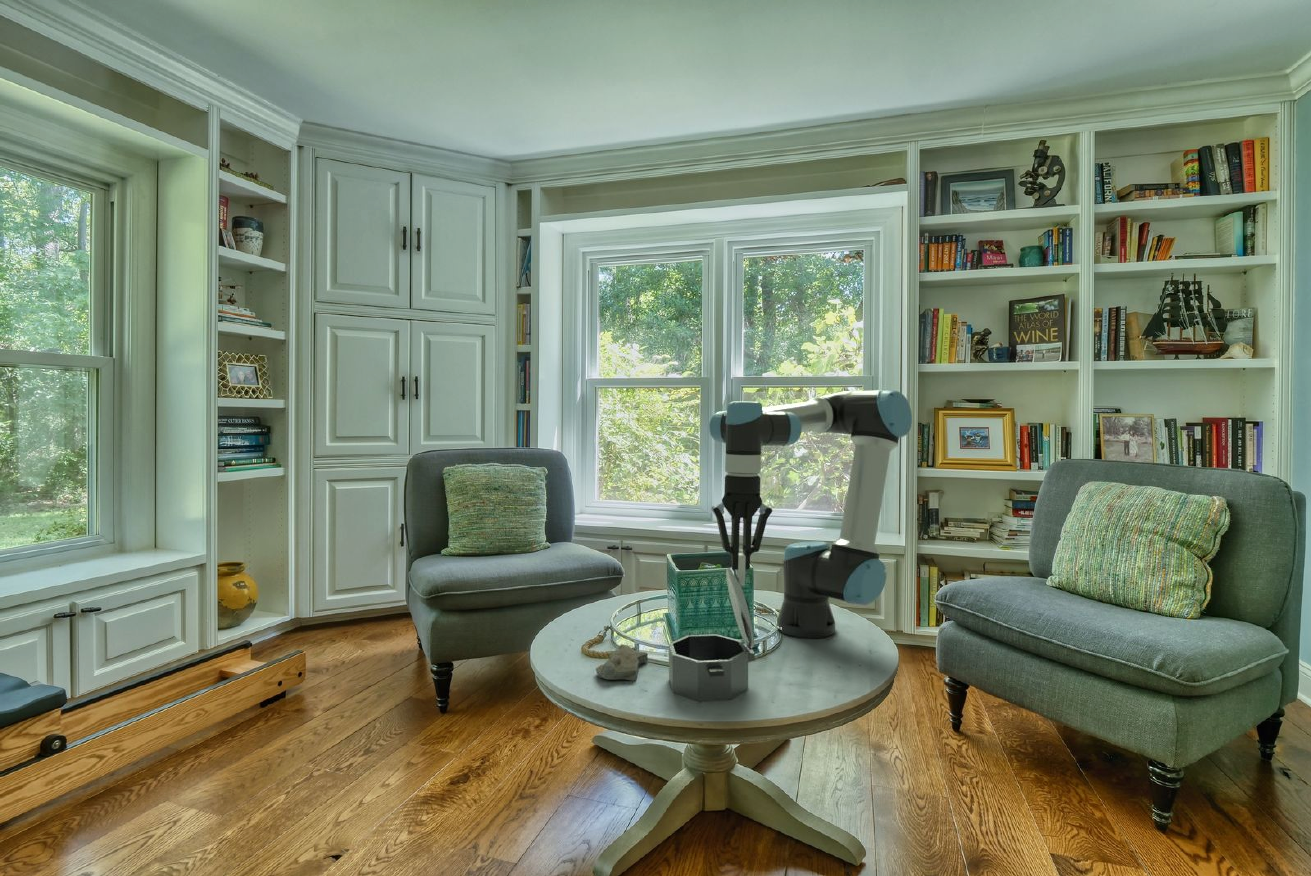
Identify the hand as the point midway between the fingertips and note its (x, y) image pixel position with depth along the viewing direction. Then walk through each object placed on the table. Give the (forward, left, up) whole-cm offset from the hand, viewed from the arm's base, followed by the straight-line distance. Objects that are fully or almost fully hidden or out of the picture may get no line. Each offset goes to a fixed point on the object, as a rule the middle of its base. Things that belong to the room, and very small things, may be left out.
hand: (740, 584), depth 144 cm
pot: (+7, 0, -22) cm, 23 cm away
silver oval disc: (0, 0, -5) cm, 5 cm away
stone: (+25, -10, -22) cm, 35 cm away
